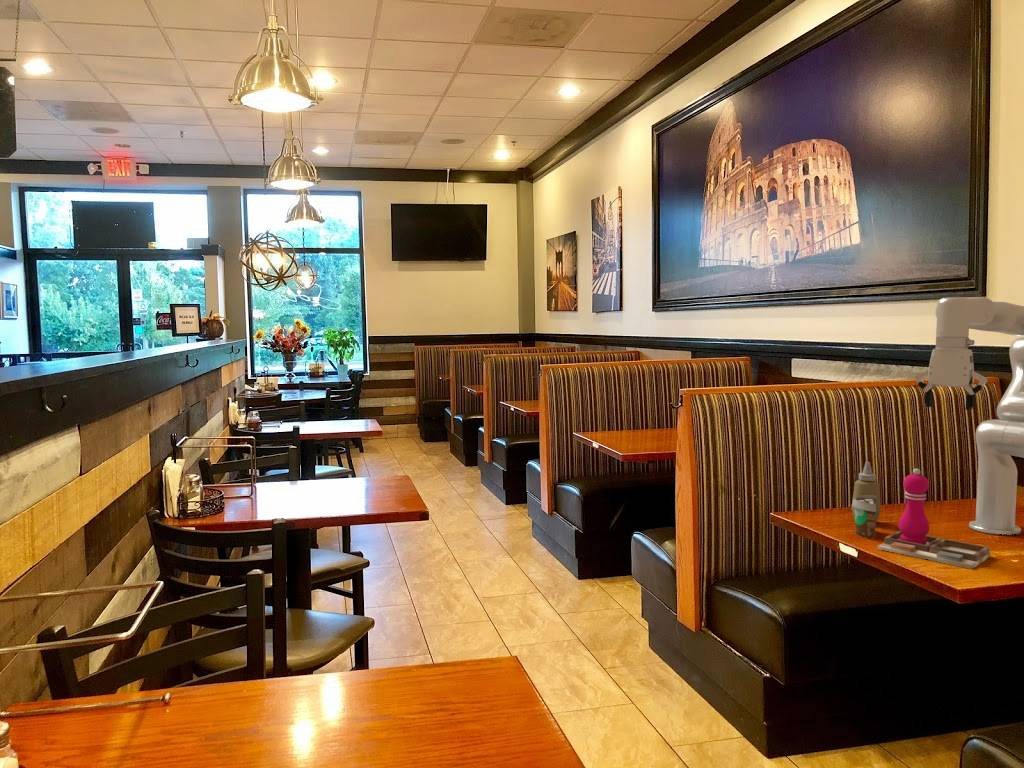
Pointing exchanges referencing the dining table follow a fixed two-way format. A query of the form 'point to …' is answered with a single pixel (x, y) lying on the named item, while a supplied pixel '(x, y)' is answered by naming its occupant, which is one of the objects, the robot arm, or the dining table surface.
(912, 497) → the pepper mill
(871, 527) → the food container
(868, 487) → the squeeze bottle
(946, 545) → the holder board
